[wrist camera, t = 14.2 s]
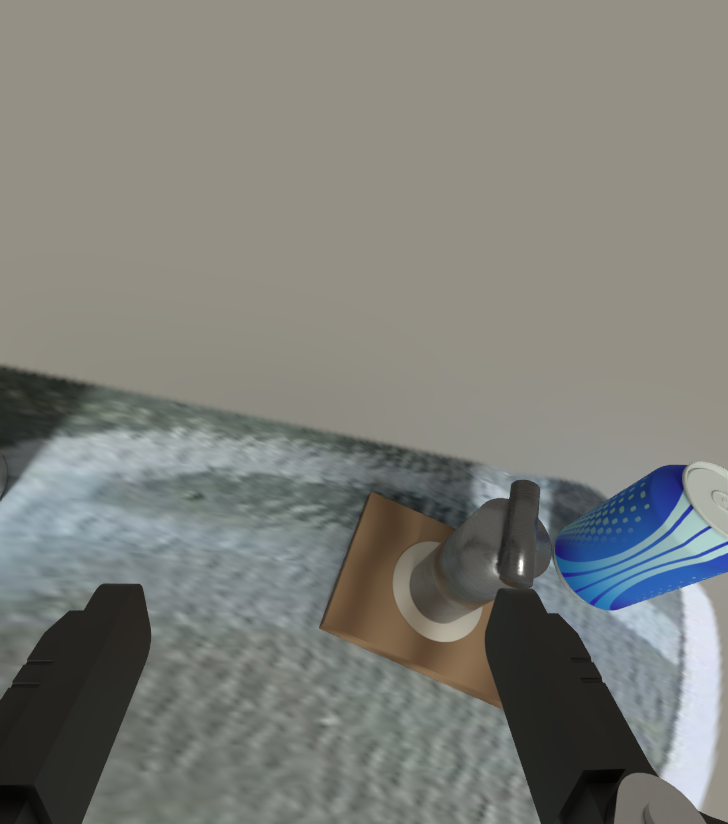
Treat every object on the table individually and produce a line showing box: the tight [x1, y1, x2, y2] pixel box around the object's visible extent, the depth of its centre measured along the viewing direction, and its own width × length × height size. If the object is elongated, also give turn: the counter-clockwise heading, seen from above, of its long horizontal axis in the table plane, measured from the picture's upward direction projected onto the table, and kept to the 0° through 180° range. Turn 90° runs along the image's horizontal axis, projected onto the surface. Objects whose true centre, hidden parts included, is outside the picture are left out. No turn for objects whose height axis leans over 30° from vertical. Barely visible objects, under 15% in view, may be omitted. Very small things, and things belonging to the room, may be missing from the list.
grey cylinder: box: [409, 480, 552, 624], centre depth 31 cm, size 5×6×14 cm
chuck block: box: [319, 492, 504, 710], centre depth 38 cm, size 16×12×2 cm
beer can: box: [554, 461, 728, 611], centre depth 38 cm, size 8×8×16 cm
